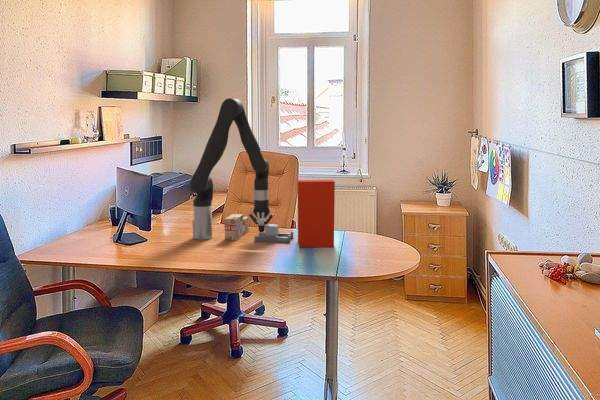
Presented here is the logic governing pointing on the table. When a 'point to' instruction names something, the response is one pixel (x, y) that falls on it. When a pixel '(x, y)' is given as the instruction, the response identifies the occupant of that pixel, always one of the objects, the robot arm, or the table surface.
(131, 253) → the table surface
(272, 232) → the block
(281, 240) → the chute
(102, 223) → the table surface
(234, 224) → the white product box
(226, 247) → the table surface
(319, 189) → the file binder
